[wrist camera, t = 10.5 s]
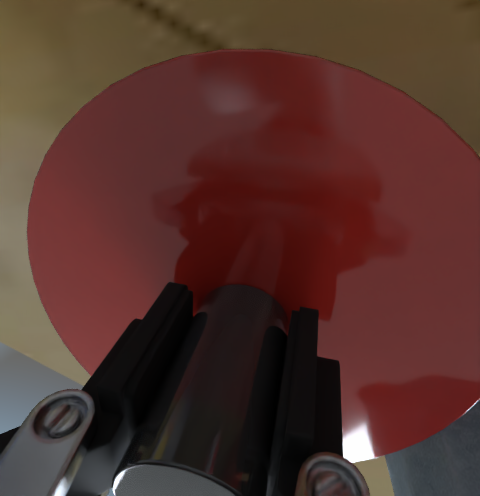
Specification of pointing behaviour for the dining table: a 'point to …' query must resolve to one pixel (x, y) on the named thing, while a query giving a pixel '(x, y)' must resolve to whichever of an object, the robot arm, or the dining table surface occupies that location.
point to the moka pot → (441, 461)
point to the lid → (264, 254)
